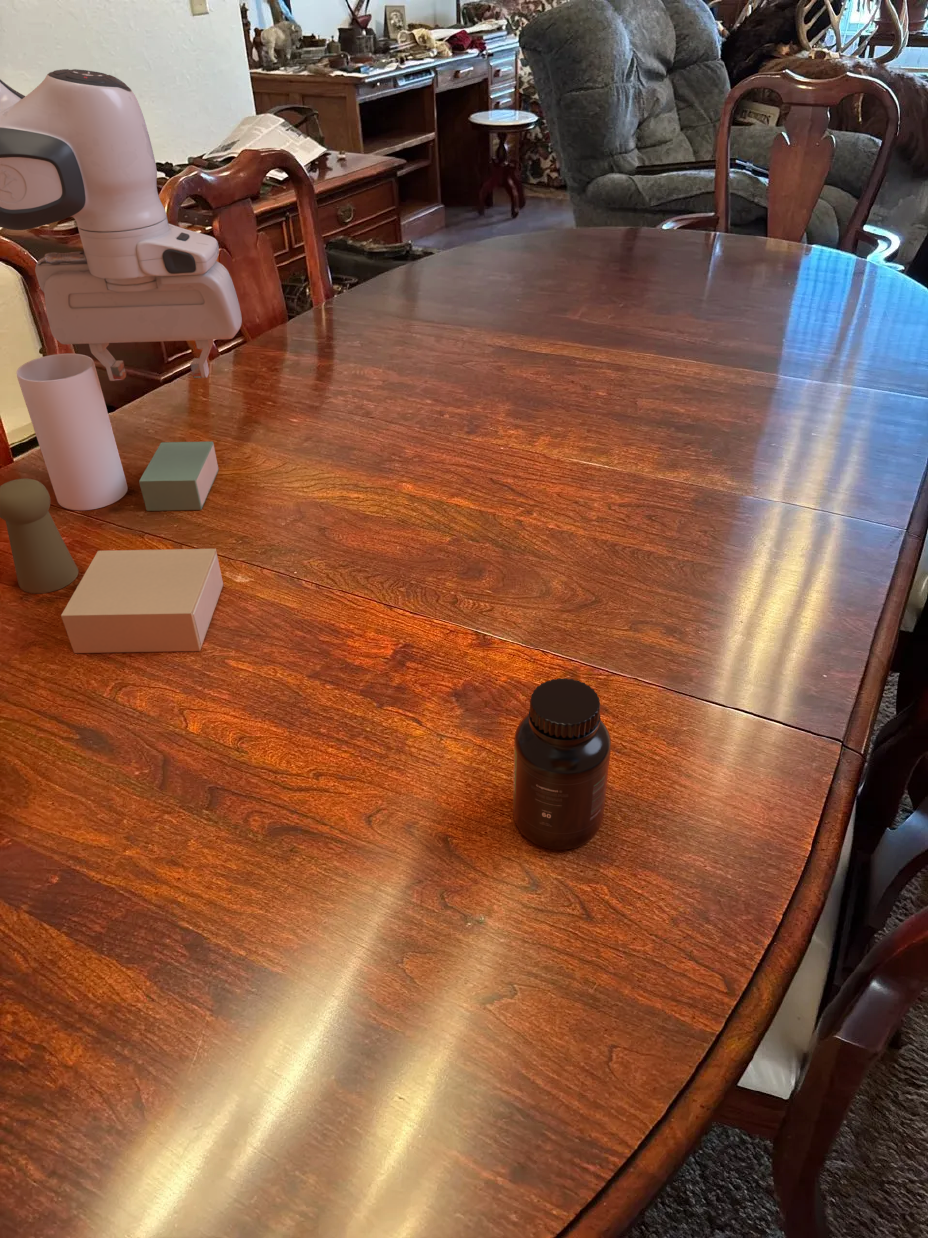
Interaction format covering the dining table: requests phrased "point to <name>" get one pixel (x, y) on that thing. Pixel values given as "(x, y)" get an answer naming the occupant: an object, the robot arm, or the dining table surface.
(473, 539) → the dining table surface
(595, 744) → the supplement bottle
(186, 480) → the sage green brick
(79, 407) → the cup
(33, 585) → the olive pawn piece
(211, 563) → the tan flat block
